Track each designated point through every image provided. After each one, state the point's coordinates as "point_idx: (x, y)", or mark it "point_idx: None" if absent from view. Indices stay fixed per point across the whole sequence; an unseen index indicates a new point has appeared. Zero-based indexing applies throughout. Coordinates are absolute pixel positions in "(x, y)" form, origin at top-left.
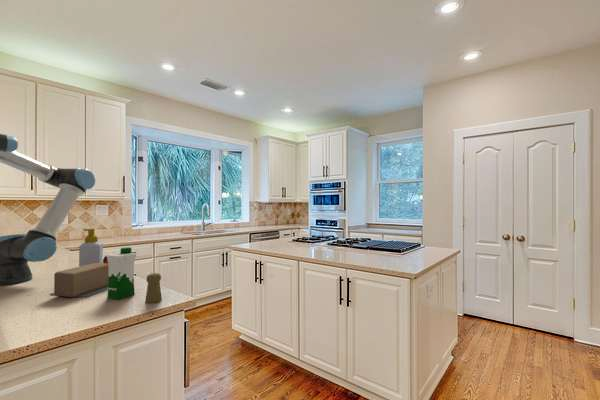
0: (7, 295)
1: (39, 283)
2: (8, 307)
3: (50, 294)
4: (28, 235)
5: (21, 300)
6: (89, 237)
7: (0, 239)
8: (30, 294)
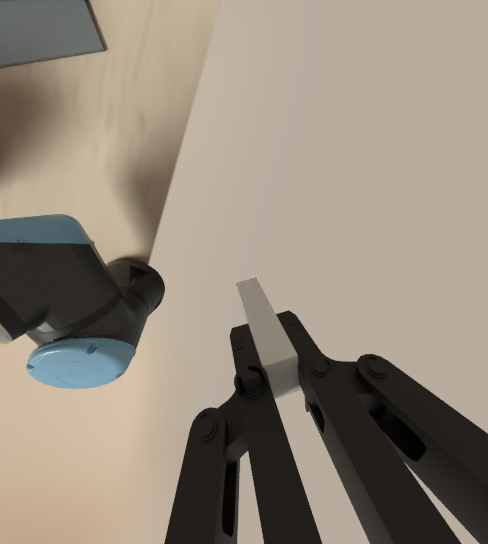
0: (170, 172)
1: (95, 217)
2: (203, 46)
3: (103, 47)
4: (24, 291)
5: (167, 83)
6: None
7: (119, 347)
8: (137, 124)
